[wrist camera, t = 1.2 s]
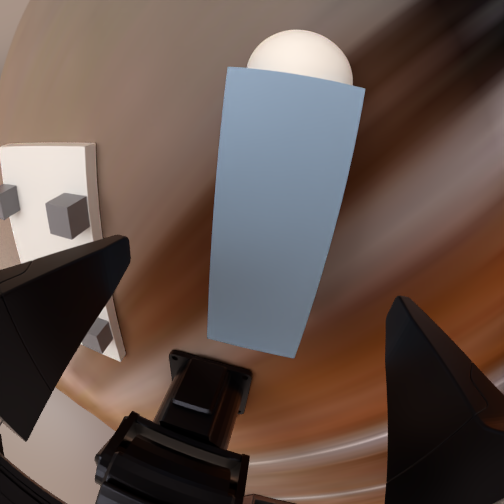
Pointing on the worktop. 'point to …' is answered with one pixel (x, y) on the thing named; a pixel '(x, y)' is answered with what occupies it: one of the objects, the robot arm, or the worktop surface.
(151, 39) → the worktop surface
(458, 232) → the worktop surface
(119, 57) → the worktop surface
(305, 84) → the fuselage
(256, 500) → the letter holder
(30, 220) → the cradle
